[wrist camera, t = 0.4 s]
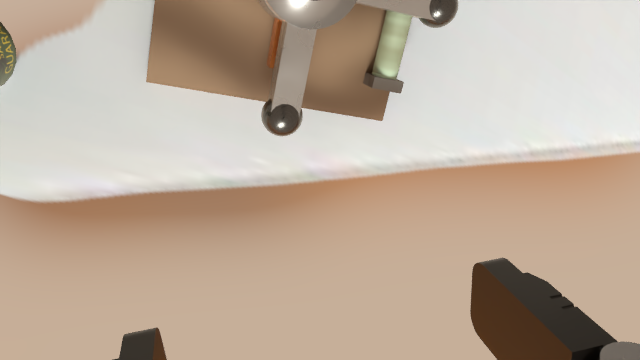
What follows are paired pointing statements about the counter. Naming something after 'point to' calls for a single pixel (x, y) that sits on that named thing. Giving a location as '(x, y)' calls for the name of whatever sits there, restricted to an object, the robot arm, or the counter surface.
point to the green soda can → (6, 55)
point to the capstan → (298, 40)
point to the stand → (253, 47)
